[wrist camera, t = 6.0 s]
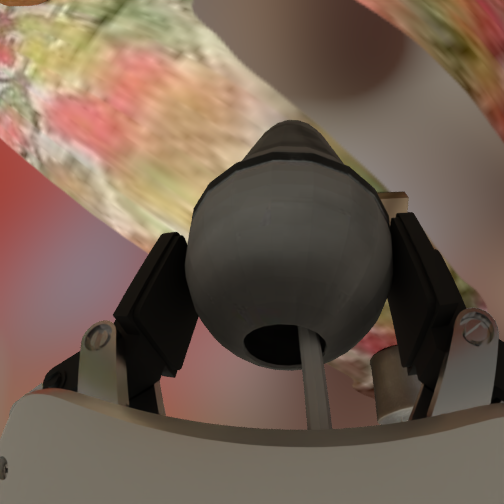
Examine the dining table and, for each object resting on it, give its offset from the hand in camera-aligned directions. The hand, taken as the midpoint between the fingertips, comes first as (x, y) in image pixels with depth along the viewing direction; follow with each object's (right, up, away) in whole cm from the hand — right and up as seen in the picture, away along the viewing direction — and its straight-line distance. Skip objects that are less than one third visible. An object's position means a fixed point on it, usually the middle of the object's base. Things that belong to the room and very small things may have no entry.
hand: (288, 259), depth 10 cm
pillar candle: (+28, -21, +41) cm, 54 cm away
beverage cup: (+2, +7, +9) cm, 12 cm away
